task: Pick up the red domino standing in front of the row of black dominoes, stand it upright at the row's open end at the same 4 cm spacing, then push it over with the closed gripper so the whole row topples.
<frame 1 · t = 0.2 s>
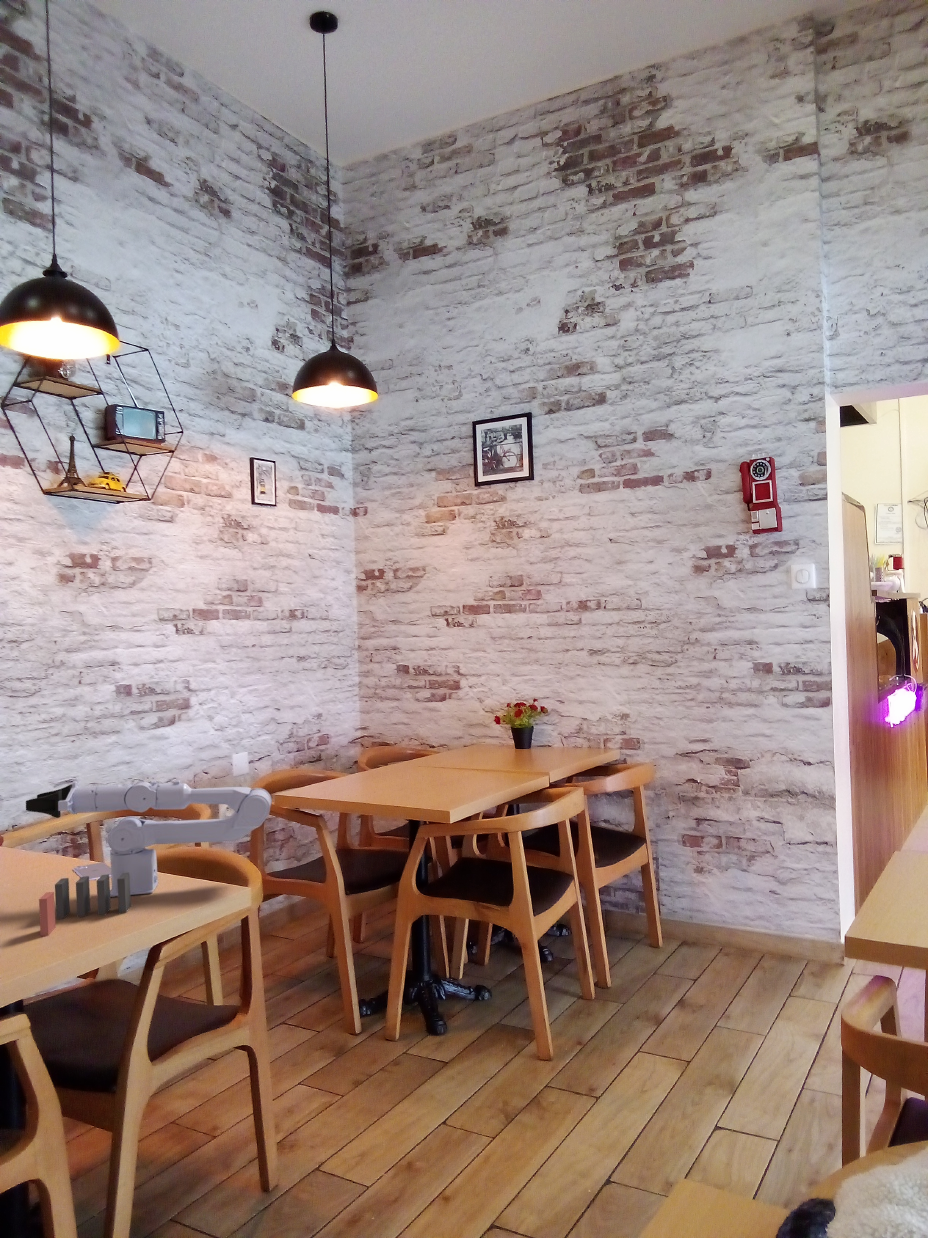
hand: (31, 802, 192), 21 cm above the table, tool horizontal, fingers open, 7 cm apart
mobile phone: (95, 874, 213), on the table
domino 4: (124, 910, 182), on the table
domino 2: (83, 913, 180), on the table
domino 1: (63, 915, 180), on the table
domino 3: (104, 912, 181), on the table
red domino: (48, 932, 170), on the table
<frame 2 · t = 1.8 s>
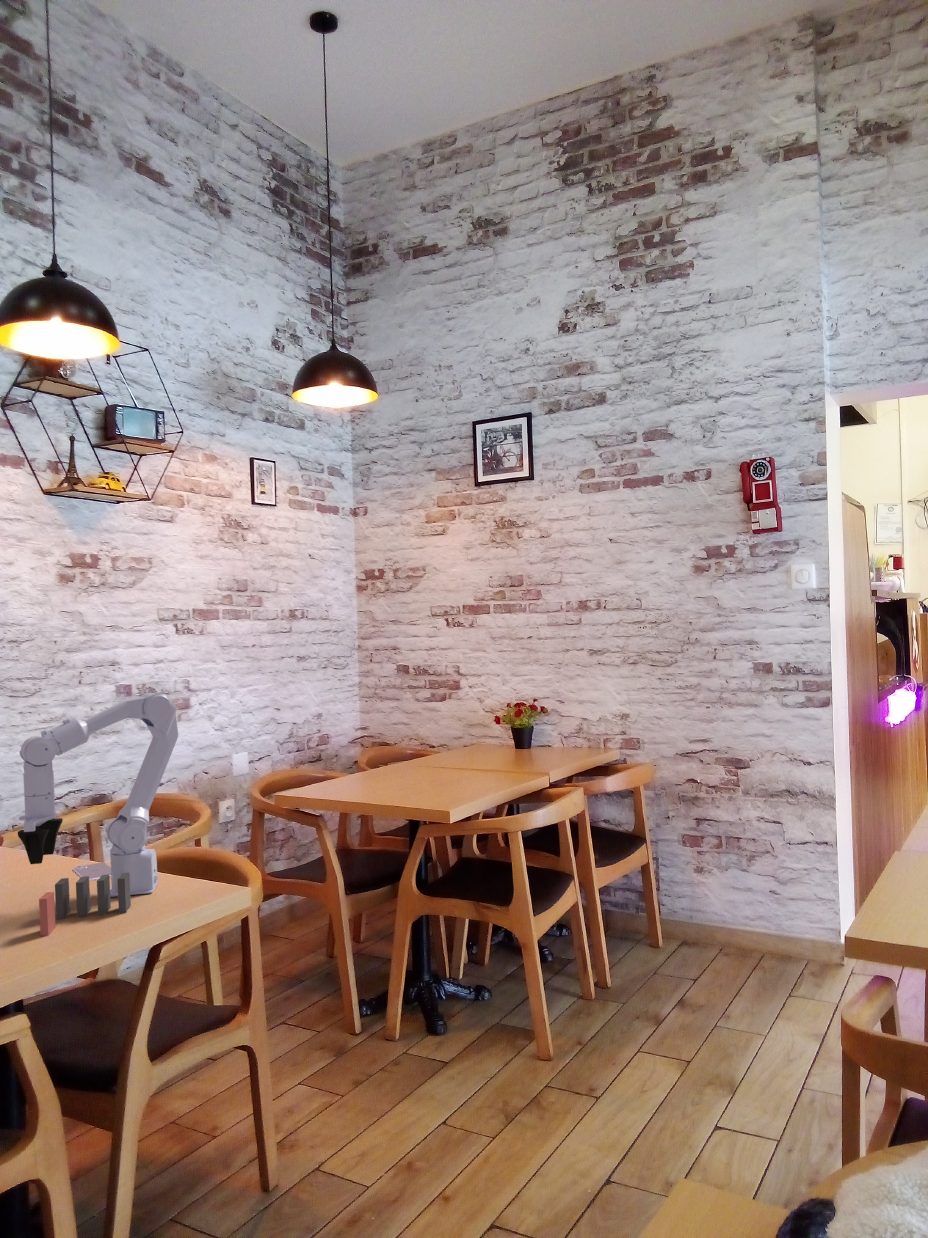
hand: (42, 859, 185), 10 cm above the table, tool pointing down, fingers open, 7 cm apart
nothing on the table moved.
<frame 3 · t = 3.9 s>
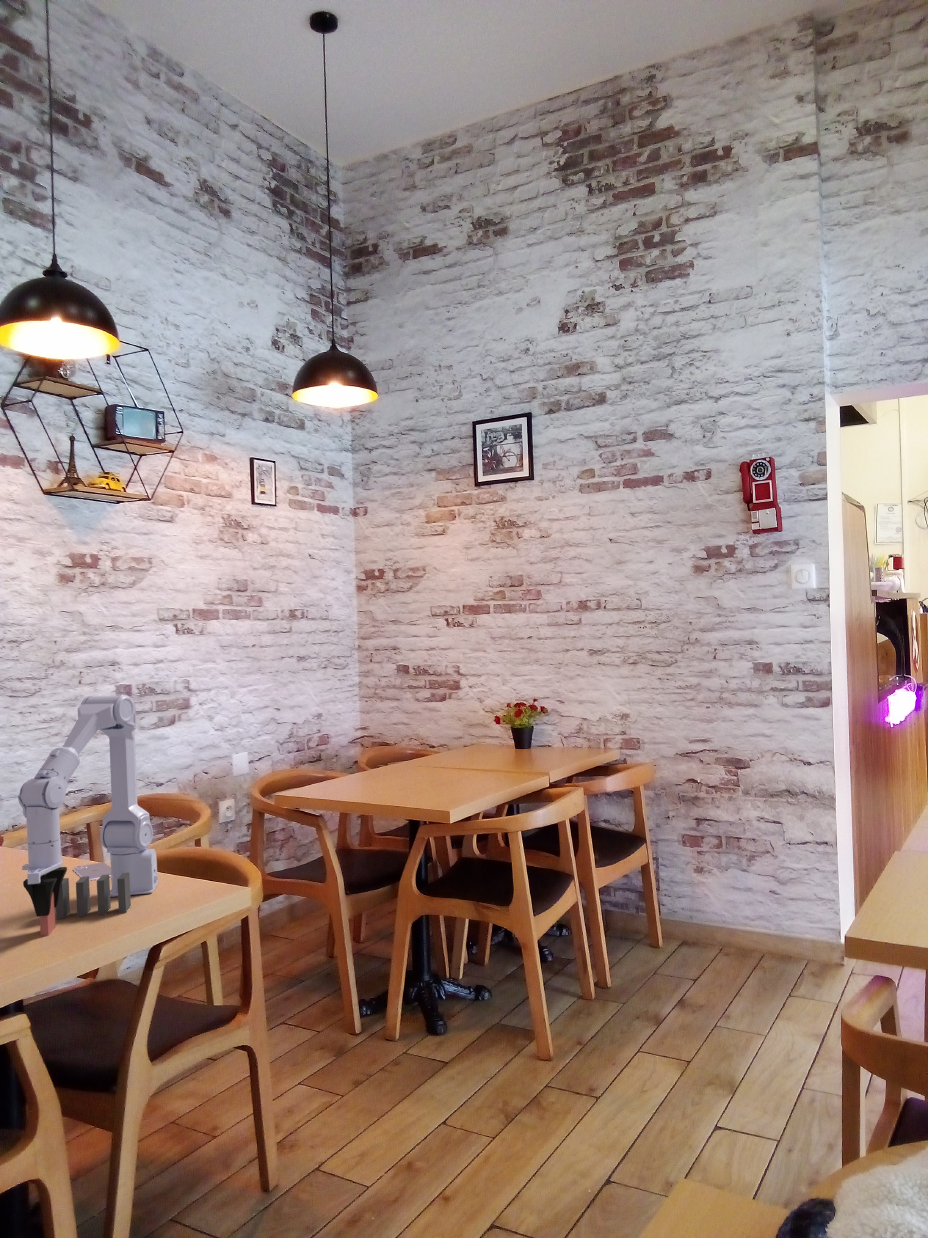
hand: (47, 911, 170), 4 cm above the table, tool pointing down, fingers closed on red domino, 4 cm apart
red domino: (48, 932, 170), on the table, touching gripper
everything else where it was.
when the fingers open (5 cm above the table, at t = 7.6 s): red domino drops 1 cm, on the table.
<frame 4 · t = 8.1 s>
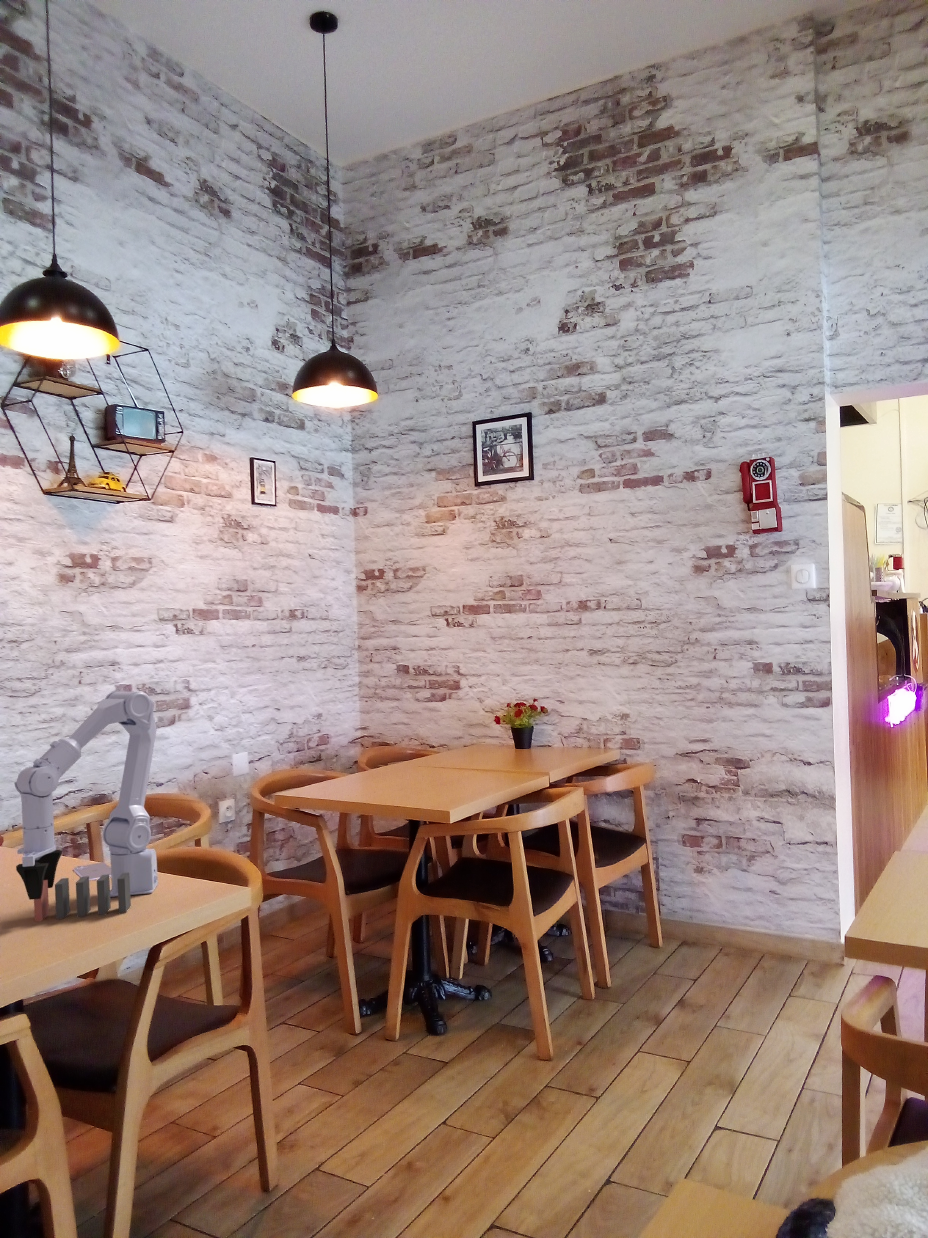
hand: (41, 893, 179), 5 cm above the table, tool pointing down, fingers open, 7 cm apart
red domino: (42, 917, 179), on the table
everything else where it was.
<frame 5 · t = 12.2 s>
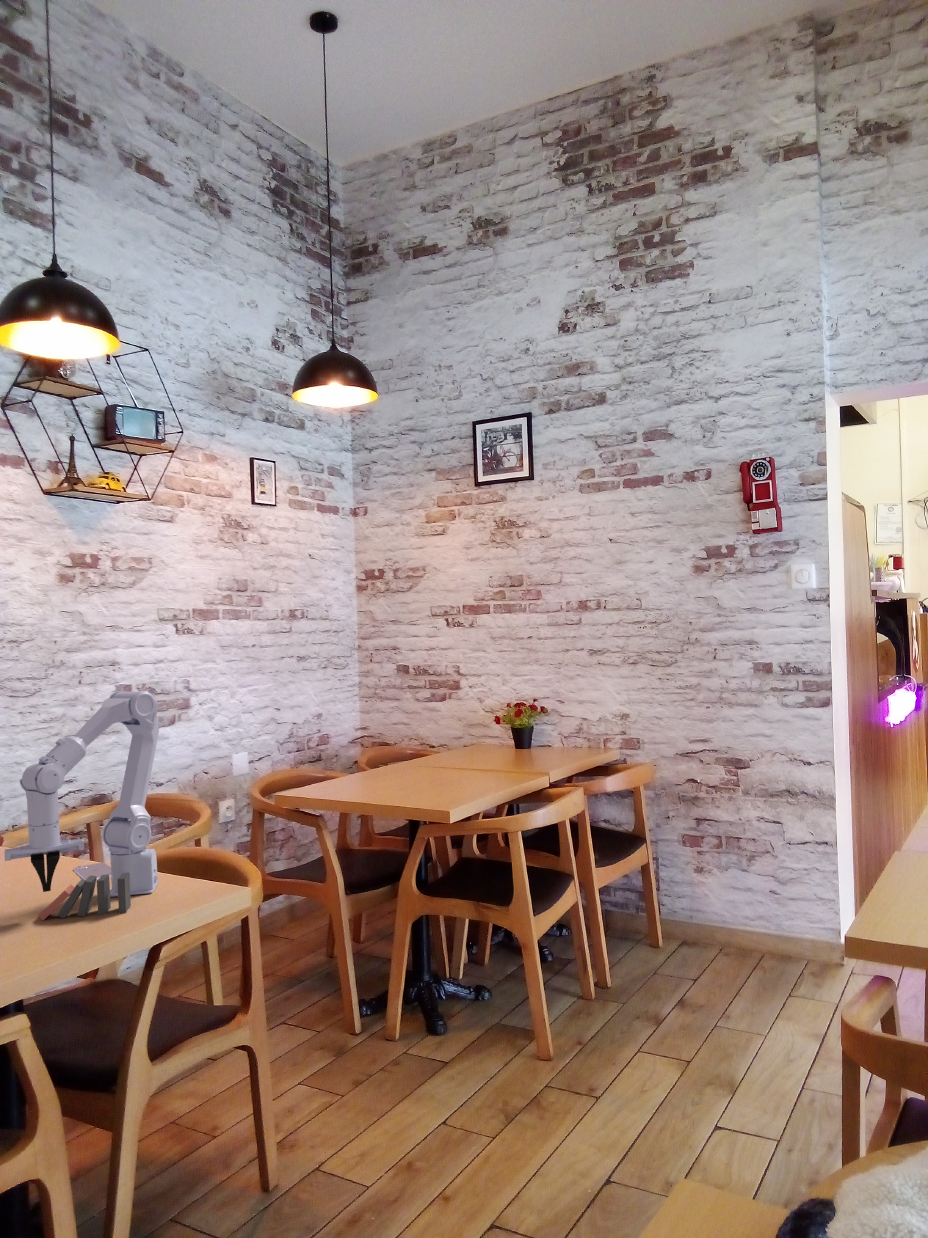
hand: (46, 890, 179), 5 cm above the table, tool pointing down, fingers closed
domino 2: (83, 913, 180), on the table, tilted 13°
domino 1: (63, 913, 180), on the table, tilted 33°, touching red domino
red domino: (43, 915, 179), on the table, tilted 49°, touching domino 1
everything else where it was.
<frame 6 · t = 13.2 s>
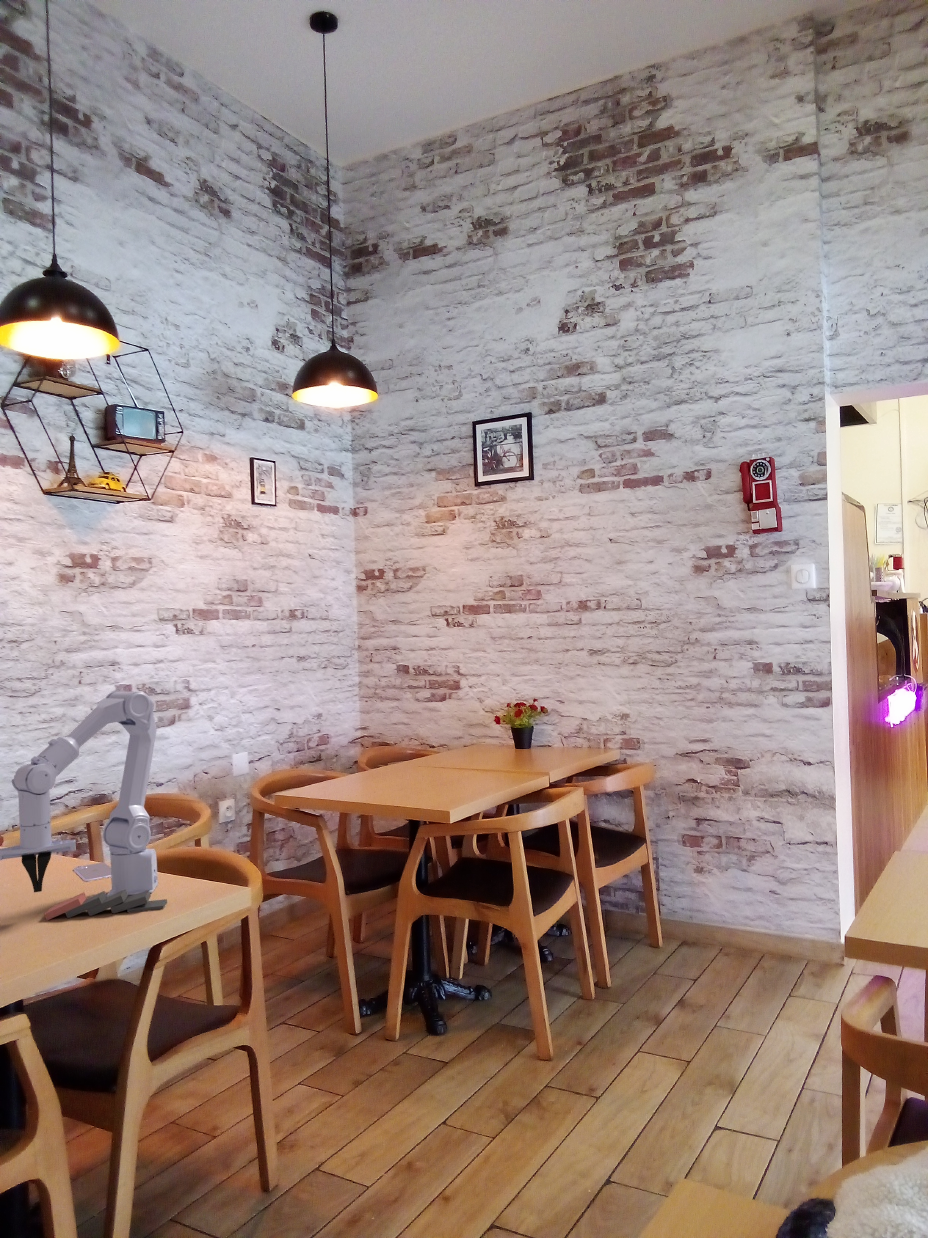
hand: (38, 891, 179), 5 cm above the table, tool pointing down, fingers closed
domino 4: (129, 909, 182), on the table, tilted 90°, touching domino 3
domino 2: (91, 910, 181), point 1 cm above the table, tilted 71°, touching domino 1, domino 3
domino 1: (69, 912, 180), point 1 cm above the table, tilted 70°, touching domino 2, red domino
domino 3: (113, 907, 181), point 1 cm above the table, tilted 77°, touching domino 2, domino 4
red domino: (49, 914, 179), point 1 cm above the table, tilted 69°, touching domino 1
everything else where it was.
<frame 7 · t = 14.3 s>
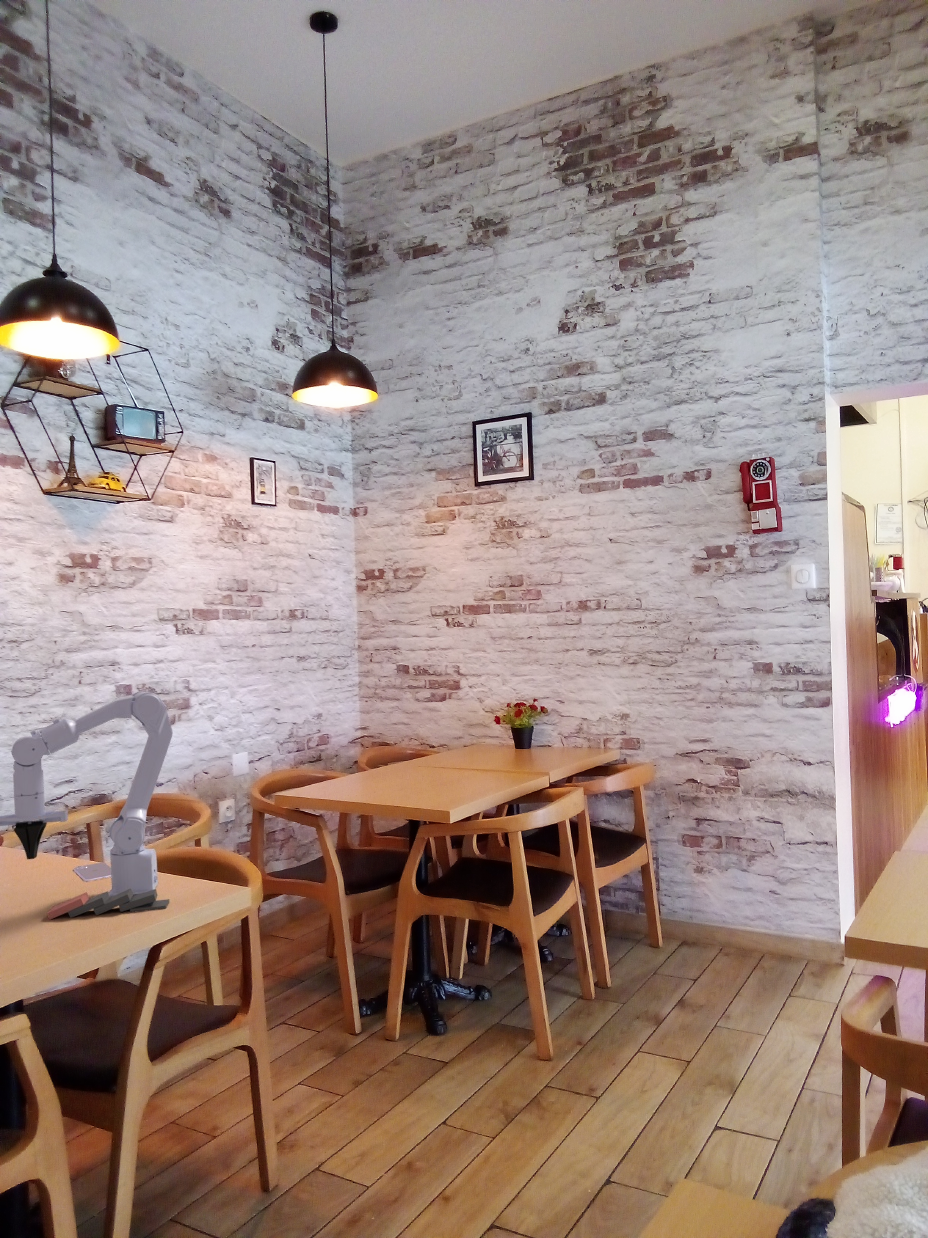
hand: (32, 858, 187), 10 cm above the table, tool pointing down, fingers closed
domino 2: (96, 909, 181), point 1 cm above the table, tilted 71°, touching domino 3
domino 1: (72, 911, 180), point 1 cm above the table, tilted 72°, touching red domino
domino 3: (121, 905, 182), point 1 cm above the table, tilted 78°, touching domino 2, domino 4
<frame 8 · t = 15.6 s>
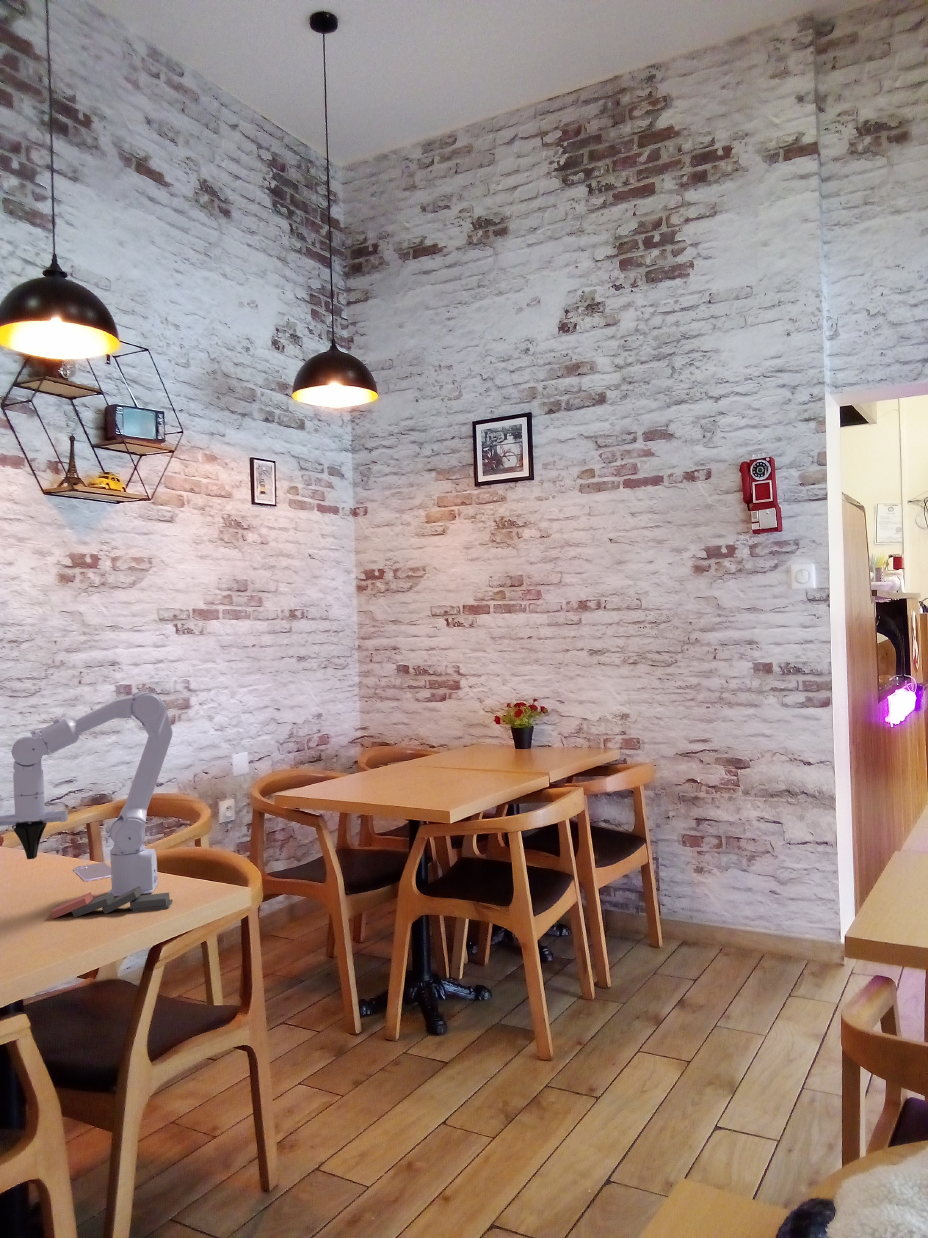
hand: (32, 858, 187), 10 cm above the table, tool pointing down, fingers closed
domino 4: (135, 909, 182), on the table, tilted 90°
domino 2: (106, 908, 181), point 1 cm above the table, tilted 66°, touching domino 1
domino 1: (76, 911, 180), point 1 cm above the table, tilted 74°, touching domino 2, red domino
domino 3: (132, 902, 182), point 1 cm above the table, tilted 89°
at the end: domino 4 tilted 90°; red domino tilted 71°; red domino inside the target area (2.0 cm from its centre), point 0.7 cm above the table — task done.
